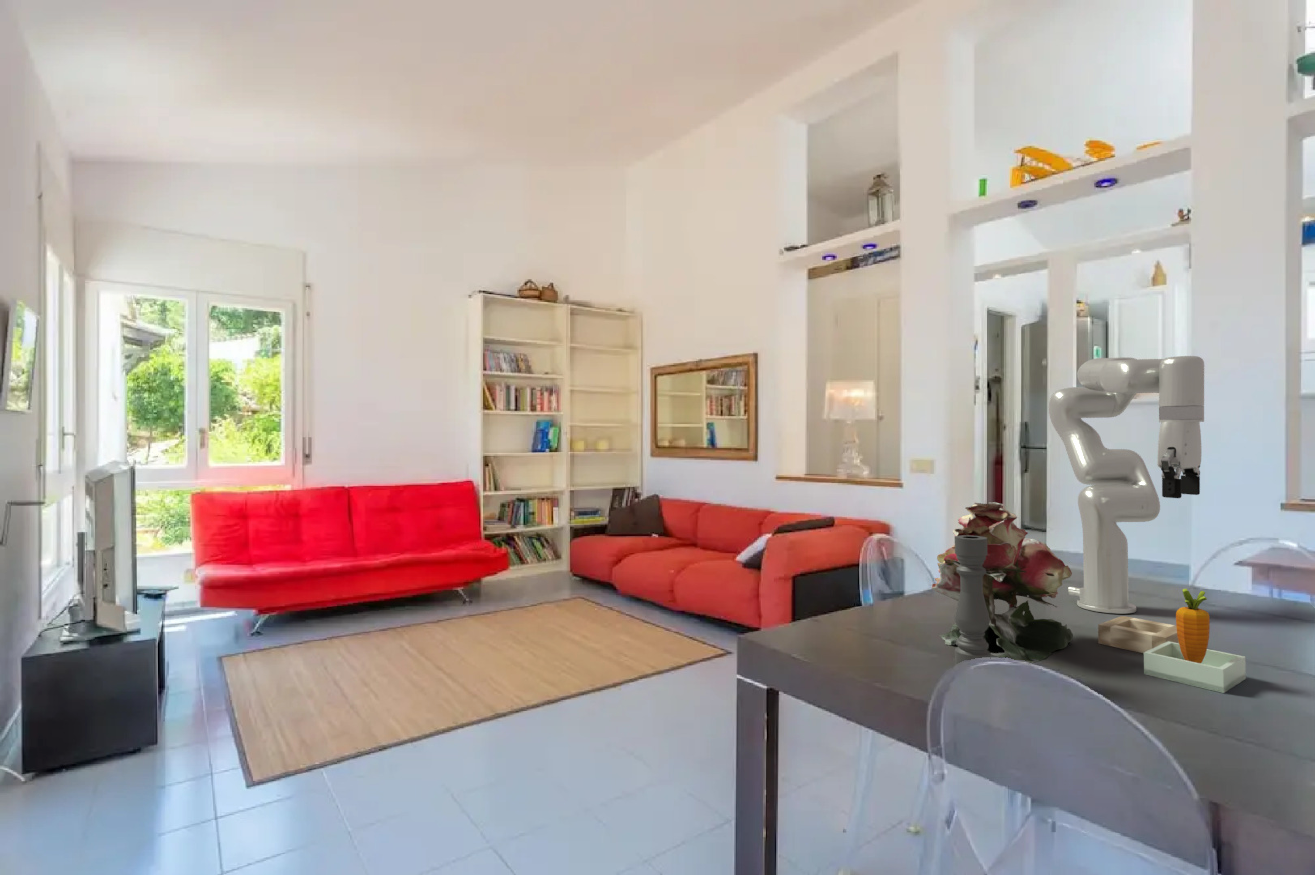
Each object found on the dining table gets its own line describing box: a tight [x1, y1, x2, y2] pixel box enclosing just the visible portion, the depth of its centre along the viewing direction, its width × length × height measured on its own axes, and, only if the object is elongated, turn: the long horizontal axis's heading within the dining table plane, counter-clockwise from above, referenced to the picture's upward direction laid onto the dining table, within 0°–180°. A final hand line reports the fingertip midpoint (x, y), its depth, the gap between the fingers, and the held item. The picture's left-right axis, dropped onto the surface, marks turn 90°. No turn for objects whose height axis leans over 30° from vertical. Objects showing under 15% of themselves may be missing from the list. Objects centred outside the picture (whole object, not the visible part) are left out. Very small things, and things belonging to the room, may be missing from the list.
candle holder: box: [954, 535, 991, 666], centre depth 127 cm, size 6×6×25 cm
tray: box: [1143, 641, 1247, 694], centre depth 122 cm, size 12×12×4 cm
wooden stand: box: [1097, 615, 1179, 654], centre depth 140 cm, size 12×12×4 cm
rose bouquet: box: [931, 501, 1074, 664], centre depth 146 cm, size 26×29×30 cm
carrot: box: [1175, 588, 1211, 663], centre depth 122 cm, size 5×5×15 cm
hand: (1181, 496), depth 141 cm, fingers open, 9 cm apart
